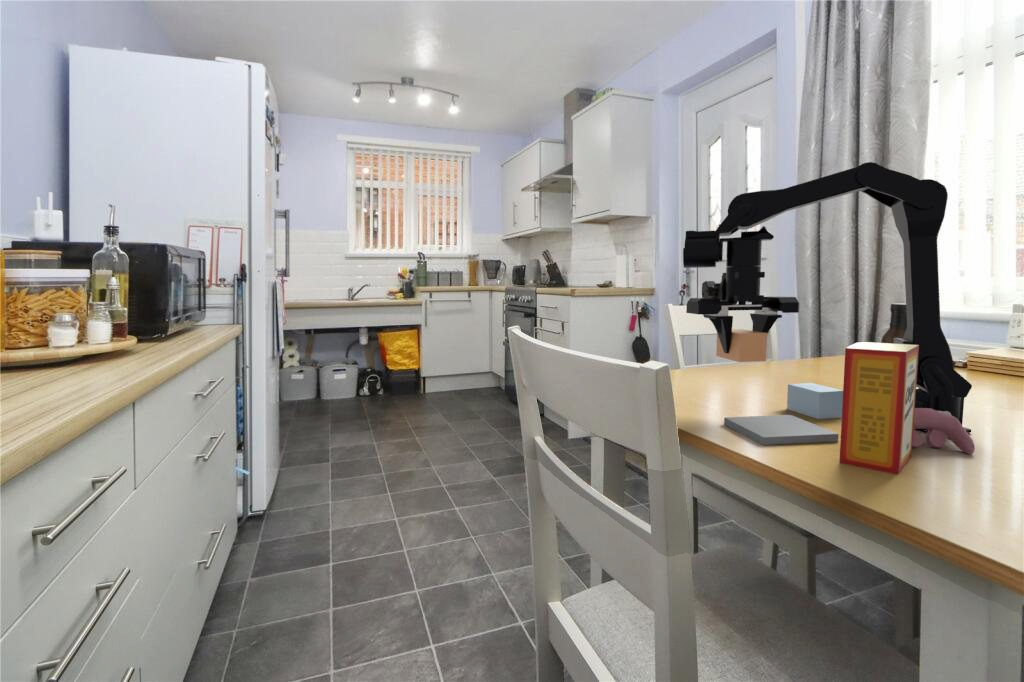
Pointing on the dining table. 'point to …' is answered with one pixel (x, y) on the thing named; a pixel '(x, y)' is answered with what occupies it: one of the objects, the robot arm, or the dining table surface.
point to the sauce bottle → (896, 323)
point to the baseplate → (780, 429)
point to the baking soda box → (878, 405)
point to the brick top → (815, 400)
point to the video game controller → (940, 430)
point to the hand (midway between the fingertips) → (740, 352)
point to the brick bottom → (745, 346)
